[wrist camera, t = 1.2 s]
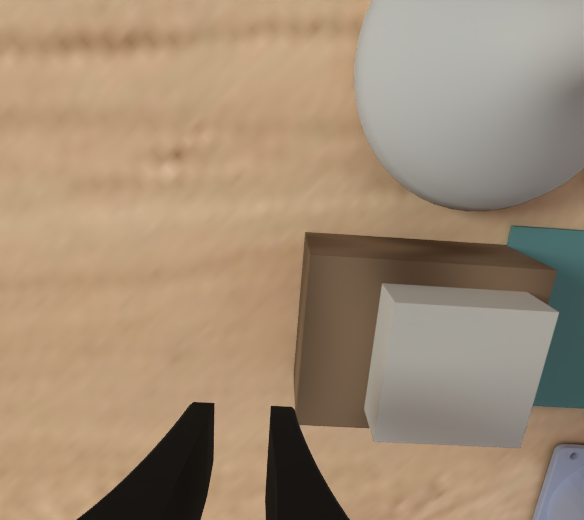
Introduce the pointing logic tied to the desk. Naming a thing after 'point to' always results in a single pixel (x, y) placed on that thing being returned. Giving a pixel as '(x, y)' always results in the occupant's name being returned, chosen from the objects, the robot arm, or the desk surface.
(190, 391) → the desk surface
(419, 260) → the block
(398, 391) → the tile
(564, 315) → the mat
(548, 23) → the flower in vase
